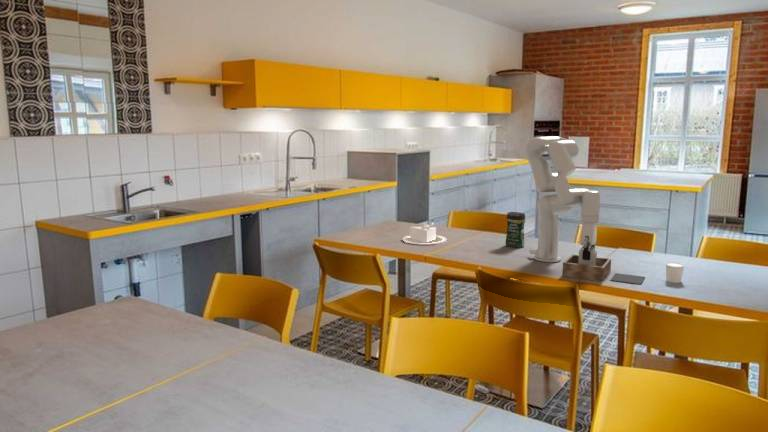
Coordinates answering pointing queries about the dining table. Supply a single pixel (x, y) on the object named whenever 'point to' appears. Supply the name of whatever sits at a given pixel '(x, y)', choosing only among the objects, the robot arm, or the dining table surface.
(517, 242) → the coffee jar
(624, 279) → the mat
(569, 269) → the crate
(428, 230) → the dish
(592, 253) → the can
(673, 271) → the shot glass
